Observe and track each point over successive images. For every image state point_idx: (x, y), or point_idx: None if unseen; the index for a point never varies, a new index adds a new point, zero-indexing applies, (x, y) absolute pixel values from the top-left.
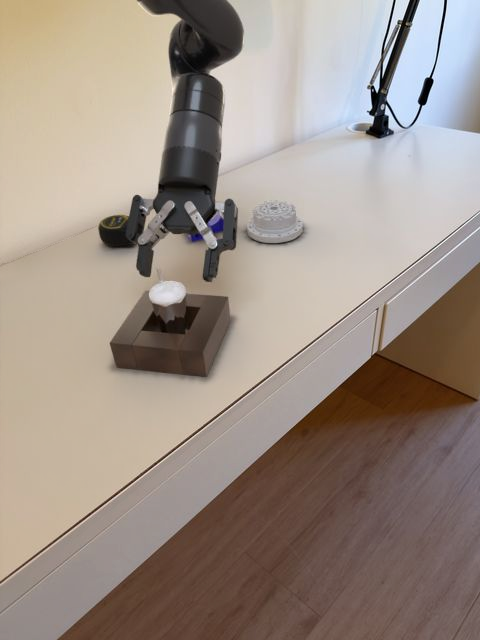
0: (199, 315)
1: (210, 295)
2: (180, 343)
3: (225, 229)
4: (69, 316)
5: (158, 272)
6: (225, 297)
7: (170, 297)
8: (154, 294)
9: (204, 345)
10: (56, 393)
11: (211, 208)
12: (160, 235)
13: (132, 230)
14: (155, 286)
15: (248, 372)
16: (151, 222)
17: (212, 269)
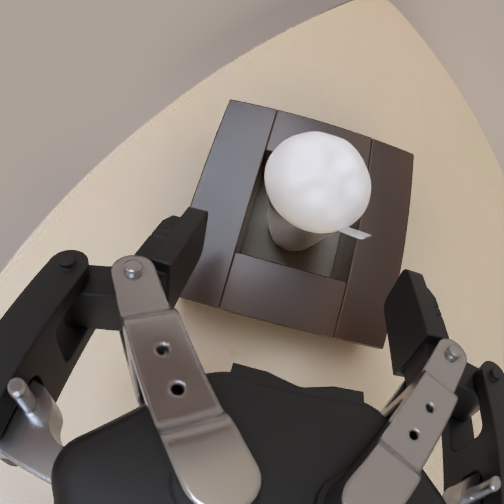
0: (237, 215)
1: (209, 304)
2: (276, 125)
3: (48, 298)
4: (486, 337)
5: (361, 232)
6: None
7: (305, 134)
8: (352, 149)
9: (226, 114)
10: (447, 143)
11: (74, 443)
12: (384, 410)
13: (493, 387)
14: (358, 184)
15: (162, 138)
16: (448, 403)
17: (168, 225)
